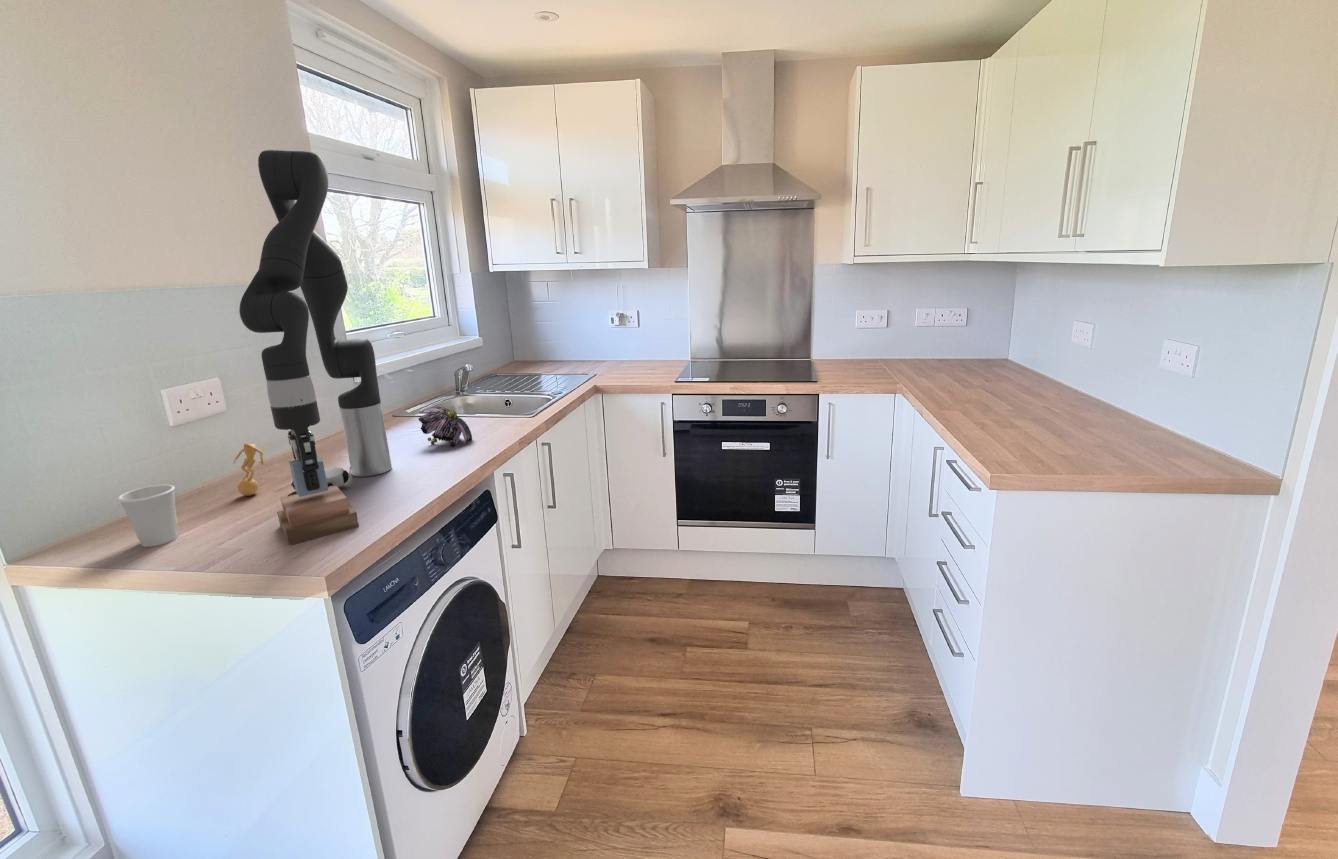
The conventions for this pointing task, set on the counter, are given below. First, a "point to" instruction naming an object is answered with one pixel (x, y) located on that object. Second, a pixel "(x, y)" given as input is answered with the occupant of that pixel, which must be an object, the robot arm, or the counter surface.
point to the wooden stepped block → (316, 515)
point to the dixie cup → (152, 514)
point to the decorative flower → (444, 426)
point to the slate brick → (300, 482)
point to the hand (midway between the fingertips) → (310, 485)
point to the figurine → (249, 484)
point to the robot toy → (332, 477)
